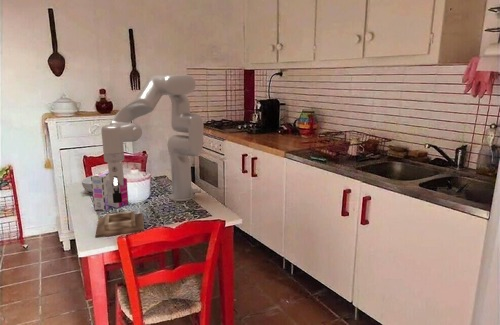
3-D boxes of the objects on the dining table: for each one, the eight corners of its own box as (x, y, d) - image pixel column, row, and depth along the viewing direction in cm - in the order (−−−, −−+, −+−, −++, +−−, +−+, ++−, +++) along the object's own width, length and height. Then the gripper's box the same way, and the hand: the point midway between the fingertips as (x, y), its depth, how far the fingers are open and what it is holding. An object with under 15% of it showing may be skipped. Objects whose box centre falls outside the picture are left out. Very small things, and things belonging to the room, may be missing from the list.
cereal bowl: (100, 185, 208) (98, 172, 206) (123, 188, 202) (122, 175, 200) (75, 194, 193) (74, 181, 191) (100, 197, 187) (99, 184, 185)
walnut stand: (142, 215, 163) (142, 207, 163) (144, 231, 147) (143, 223, 146) (98, 220, 158) (97, 212, 157) (95, 237, 141) (94, 229, 141)
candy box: (105, 211, 168) (101, 176, 165) (93, 210, 170) (90, 175, 166) (121, 201, 182) (118, 168, 178) (110, 200, 183) (107, 168, 179)
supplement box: (117, 209, 146) (114, 181, 144) (107, 206, 149) (105, 179, 147) (129, 205, 151) (127, 178, 148) (119, 202, 154) (117, 175, 152)
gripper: (124, 160, 139) (127, 205, 143) (124, 151, 155) (127, 191, 159) (102, 162, 136) (107, 207, 140) (105, 153, 152) (109, 193, 157)
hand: (117, 198), depth 150 cm, fingers closed on supplement box, 7 cm apart
